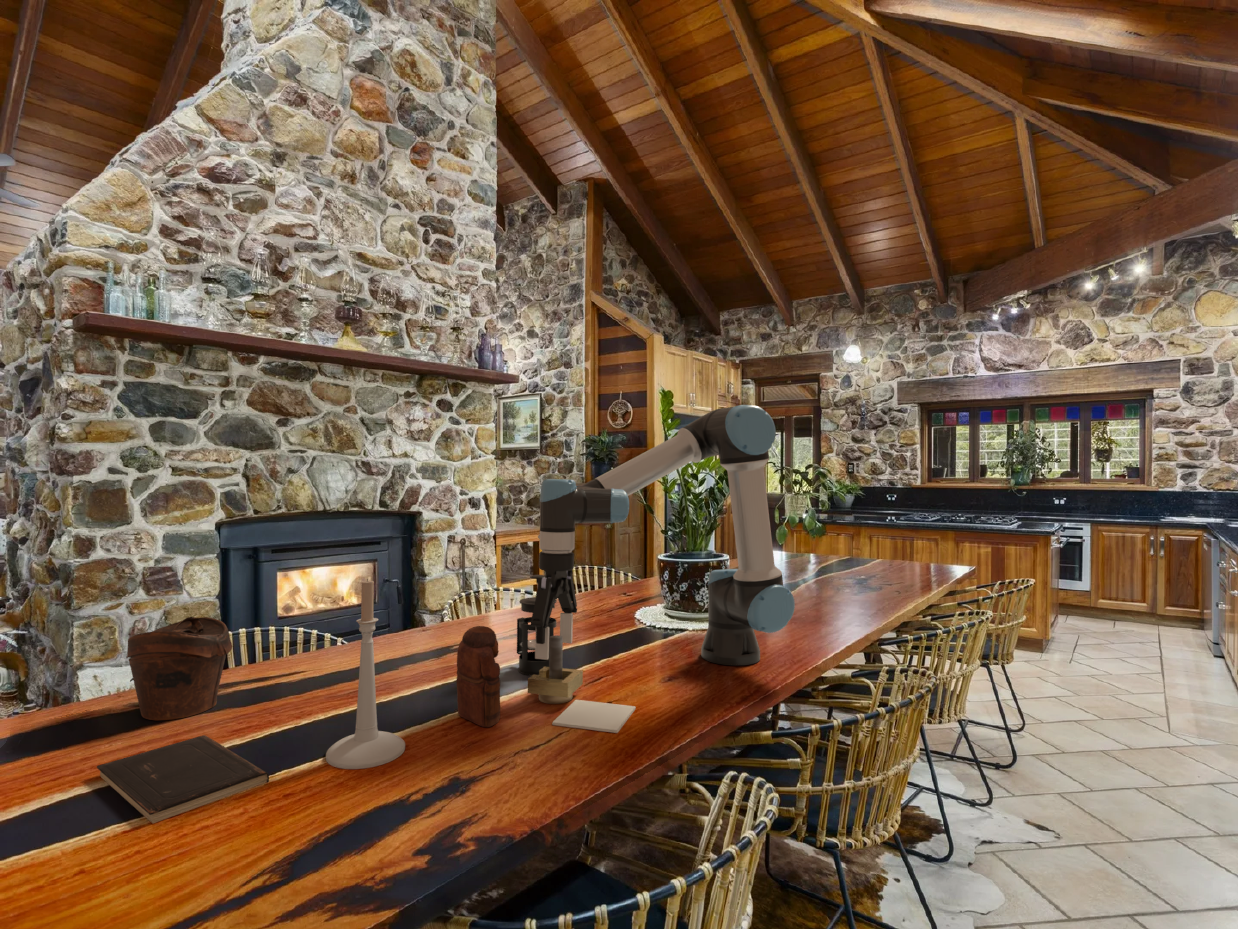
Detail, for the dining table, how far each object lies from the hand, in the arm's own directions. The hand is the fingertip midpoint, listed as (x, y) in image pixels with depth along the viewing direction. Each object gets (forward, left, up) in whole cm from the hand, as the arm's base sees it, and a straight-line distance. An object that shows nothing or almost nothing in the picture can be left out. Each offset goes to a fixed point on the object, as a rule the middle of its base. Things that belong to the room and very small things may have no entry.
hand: (554, 650), depth 143 cm
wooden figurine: (+10, +15, -10) cm, 21 cm away
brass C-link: (0, 0, -8) cm, 8 cm away
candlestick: (+21, +35, -10) cm, 42 cm away
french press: (+12, -17, -10) cm, 23 cm away
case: (+70, +29, -10) cm, 76 cm away
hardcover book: (+42, +52, -11) cm, 67 cm away
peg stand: (0, 0, -10) cm, 10 cm away
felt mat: (-12, +7, -10) cm, 17 cm away
